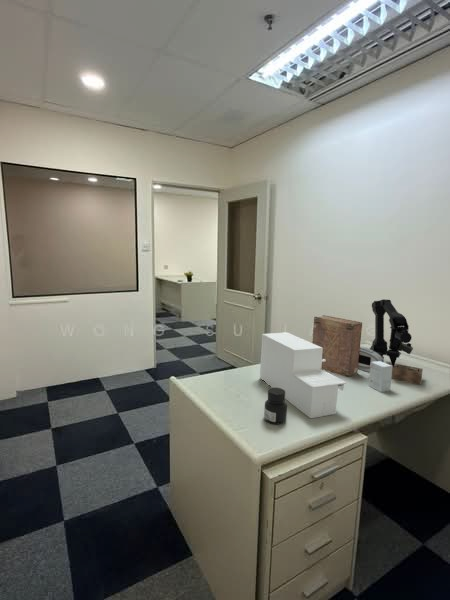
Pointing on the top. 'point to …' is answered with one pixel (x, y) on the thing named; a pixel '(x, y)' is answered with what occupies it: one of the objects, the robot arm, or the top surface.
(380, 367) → the small box
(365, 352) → the alarm clock
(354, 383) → the top surface
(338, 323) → the brown wooden case
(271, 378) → the building
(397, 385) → the top surface
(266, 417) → the ink bottle
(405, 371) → the walnut block
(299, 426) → the top surface
